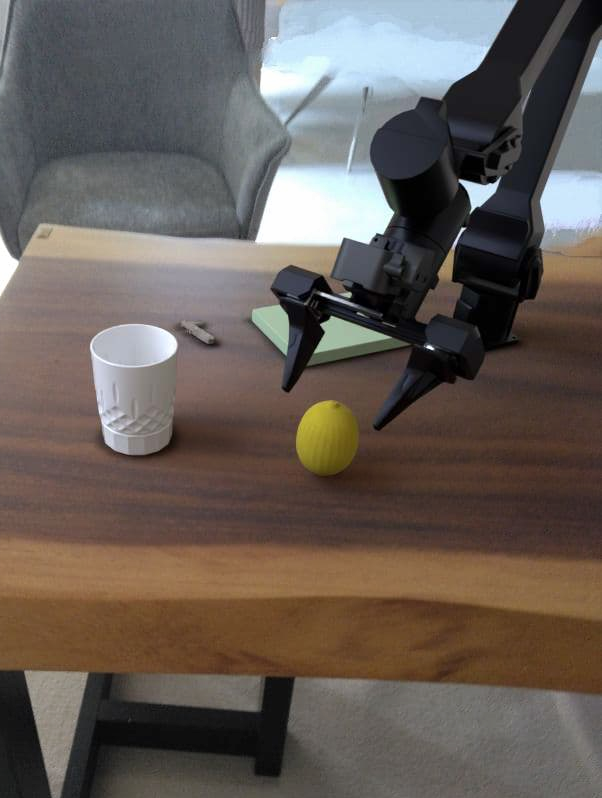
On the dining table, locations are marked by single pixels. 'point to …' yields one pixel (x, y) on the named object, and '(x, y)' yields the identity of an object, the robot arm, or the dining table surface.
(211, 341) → the pocket knife
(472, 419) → the dining table surface
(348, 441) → the lemon
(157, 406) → the white cup
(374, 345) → the cutting board
